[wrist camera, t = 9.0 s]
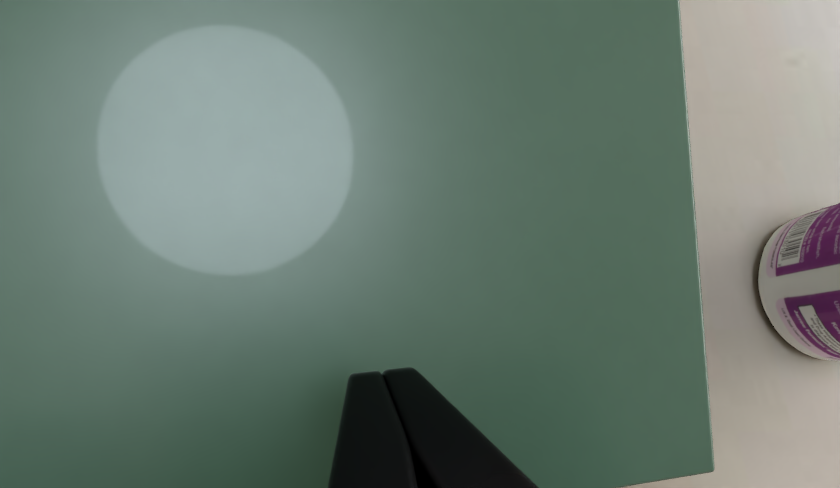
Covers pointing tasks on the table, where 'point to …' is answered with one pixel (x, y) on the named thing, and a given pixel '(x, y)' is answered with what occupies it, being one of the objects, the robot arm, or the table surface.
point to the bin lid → (344, 235)
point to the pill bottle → (805, 282)
